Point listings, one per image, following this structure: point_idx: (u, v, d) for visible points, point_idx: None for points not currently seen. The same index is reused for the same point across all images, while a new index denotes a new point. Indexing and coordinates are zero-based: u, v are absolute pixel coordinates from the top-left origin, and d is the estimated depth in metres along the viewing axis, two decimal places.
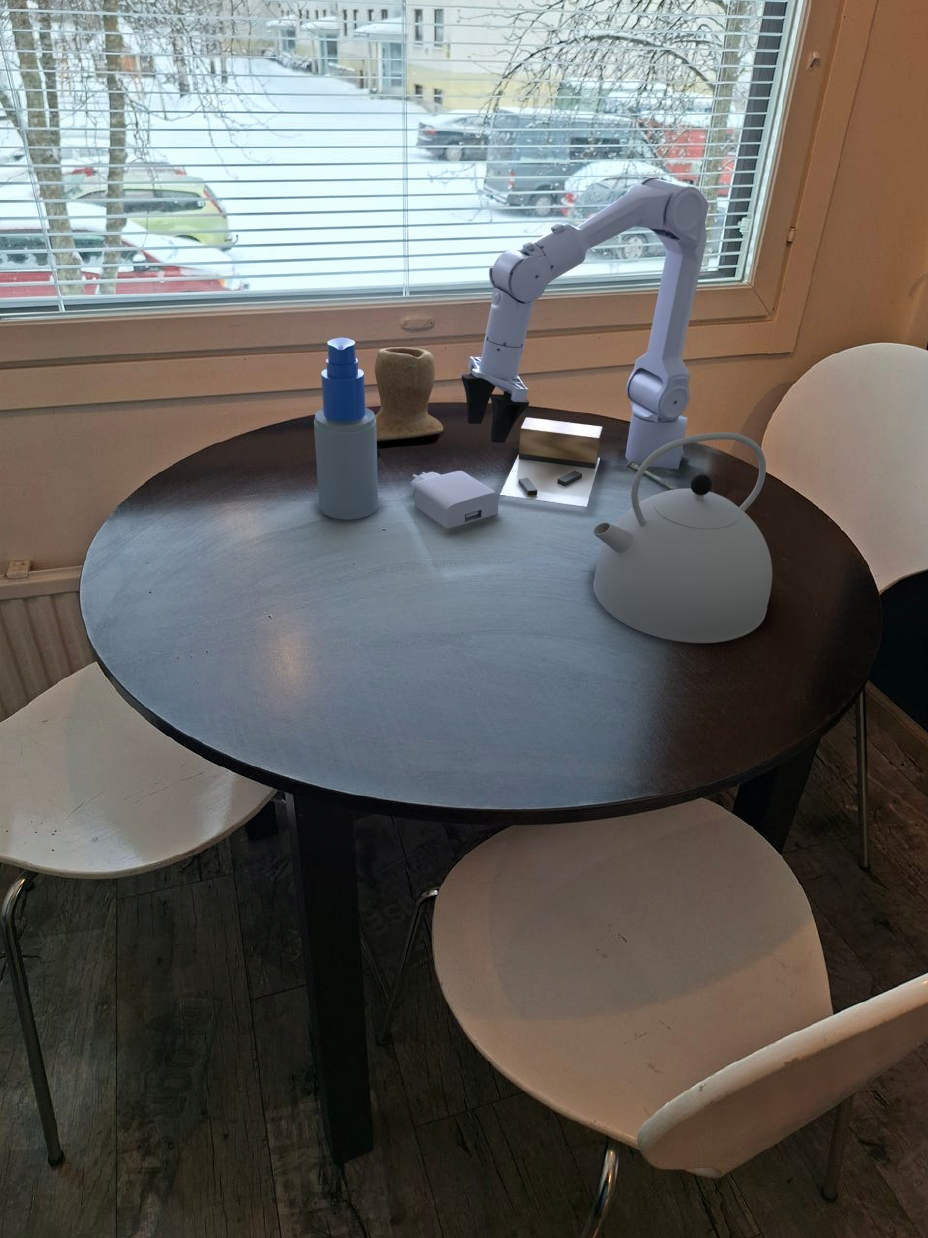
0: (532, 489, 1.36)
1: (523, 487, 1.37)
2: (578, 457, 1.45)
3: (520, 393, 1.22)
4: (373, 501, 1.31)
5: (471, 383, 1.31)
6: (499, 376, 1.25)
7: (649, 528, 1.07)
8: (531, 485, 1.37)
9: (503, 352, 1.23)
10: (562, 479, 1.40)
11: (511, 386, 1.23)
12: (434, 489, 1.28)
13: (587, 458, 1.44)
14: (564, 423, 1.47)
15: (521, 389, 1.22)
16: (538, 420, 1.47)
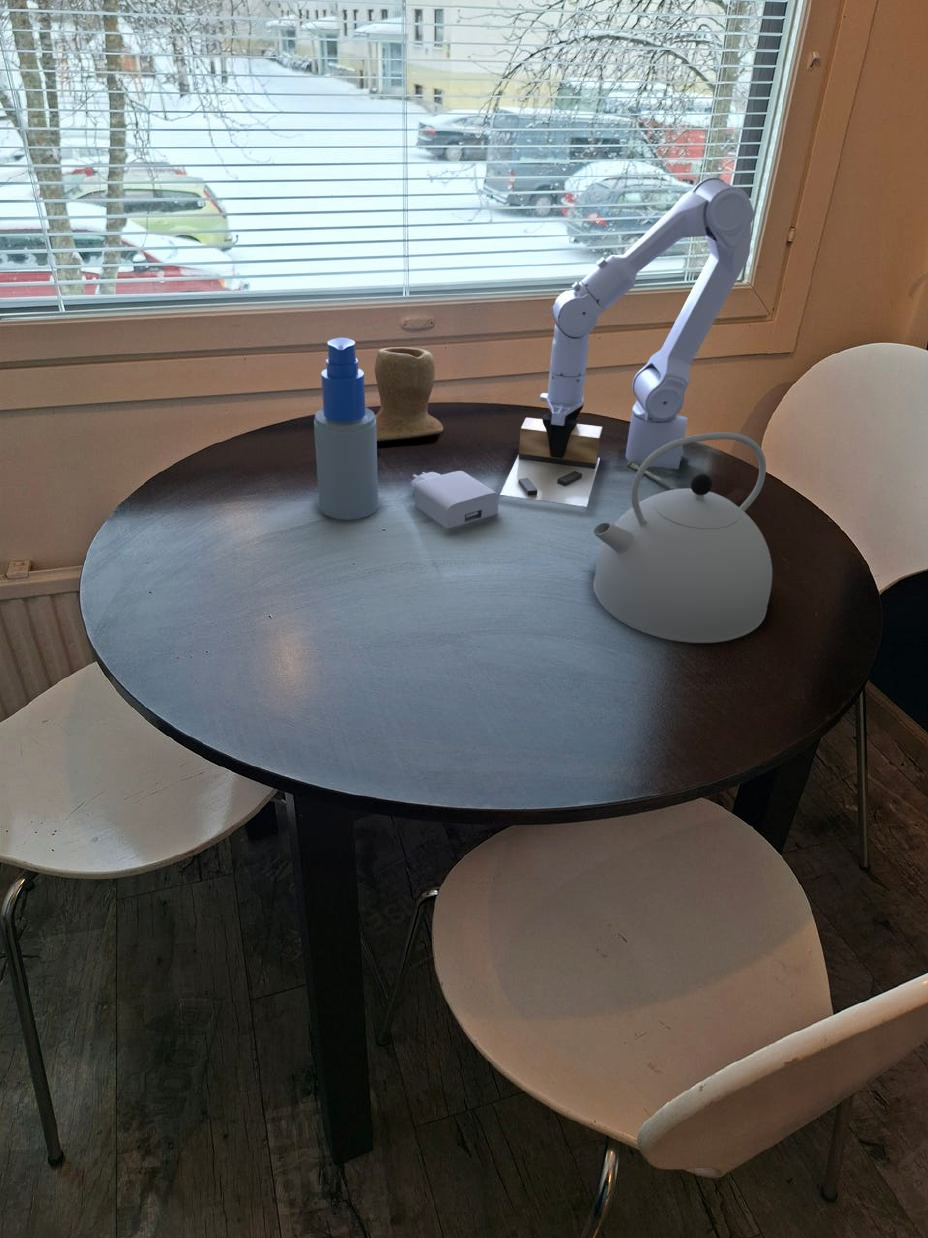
0: (532, 489, 1.36)
1: (523, 487, 1.37)
2: (578, 457, 1.45)
3: (556, 417, 1.37)
4: (373, 501, 1.31)
5: None
6: (555, 401, 1.40)
7: (649, 527, 1.07)
8: (531, 485, 1.37)
9: (556, 380, 1.38)
10: (562, 479, 1.40)
11: (552, 410, 1.38)
12: (434, 489, 1.28)
13: (587, 458, 1.44)
14: None
15: (557, 414, 1.36)
16: (538, 420, 1.47)
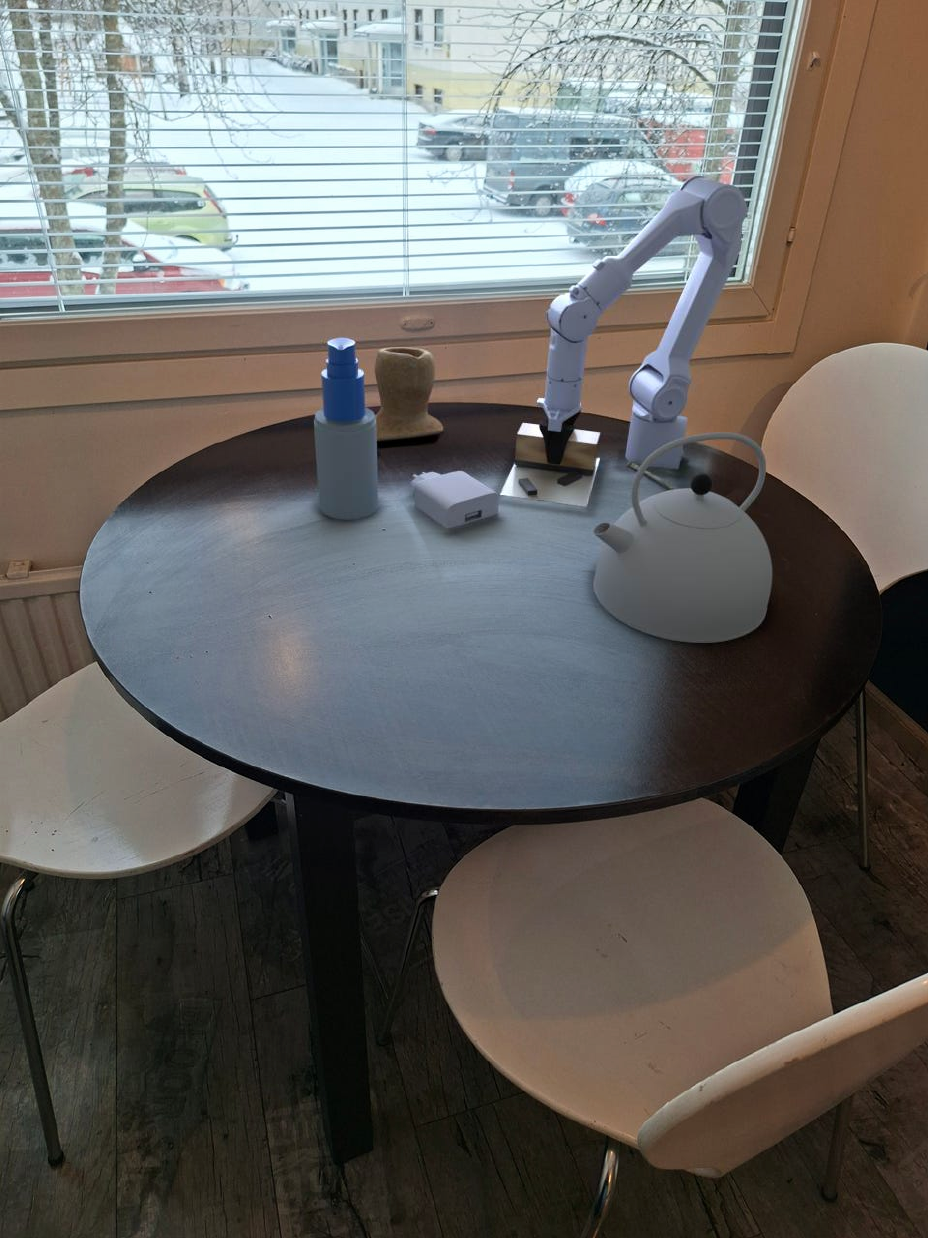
0: (532, 489, 1.36)
1: (523, 487, 1.37)
2: (575, 463, 1.42)
3: (553, 423, 1.34)
4: (373, 501, 1.31)
5: None
6: (552, 406, 1.37)
7: (649, 527, 1.07)
8: (531, 485, 1.37)
9: (553, 385, 1.35)
10: (562, 479, 1.40)
11: (549, 416, 1.35)
12: (434, 489, 1.28)
13: (585, 465, 1.41)
14: None
15: (554, 420, 1.34)
16: (535, 426, 1.44)
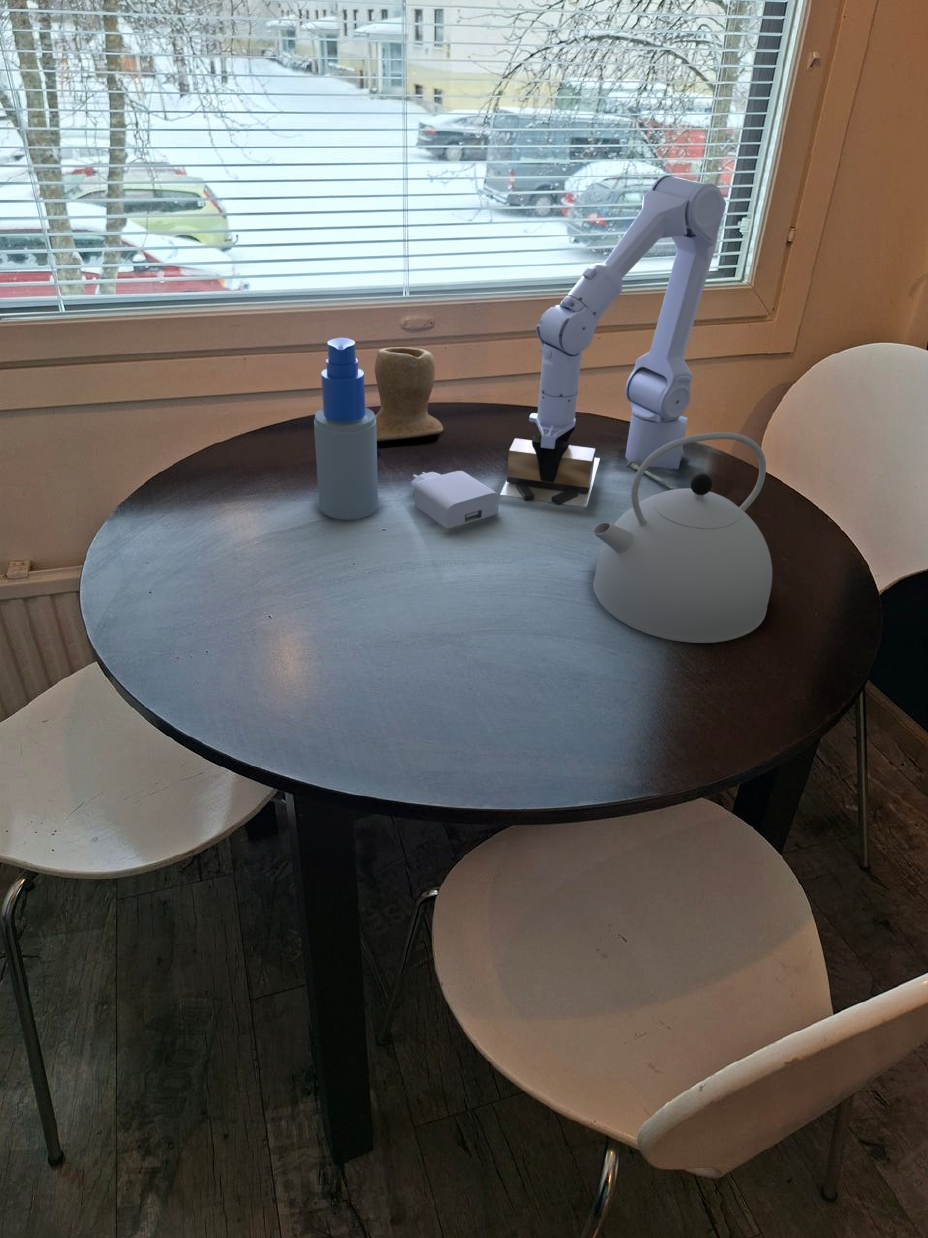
0: (529, 494, 1.35)
1: (520, 492, 1.36)
2: (570, 481, 1.36)
3: (546, 440, 1.28)
4: (373, 501, 1.31)
5: None
6: (545, 422, 1.32)
7: (649, 527, 1.07)
8: (528, 490, 1.36)
9: (546, 400, 1.30)
10: (556, 497, 1.34)
11: (542, 433, 1.29)
12: (434, 489, 1.28)
13: (579, 482, 1.36)
14: None
15: (547, 436, 1.28)
16: (528, 441, 1.39)
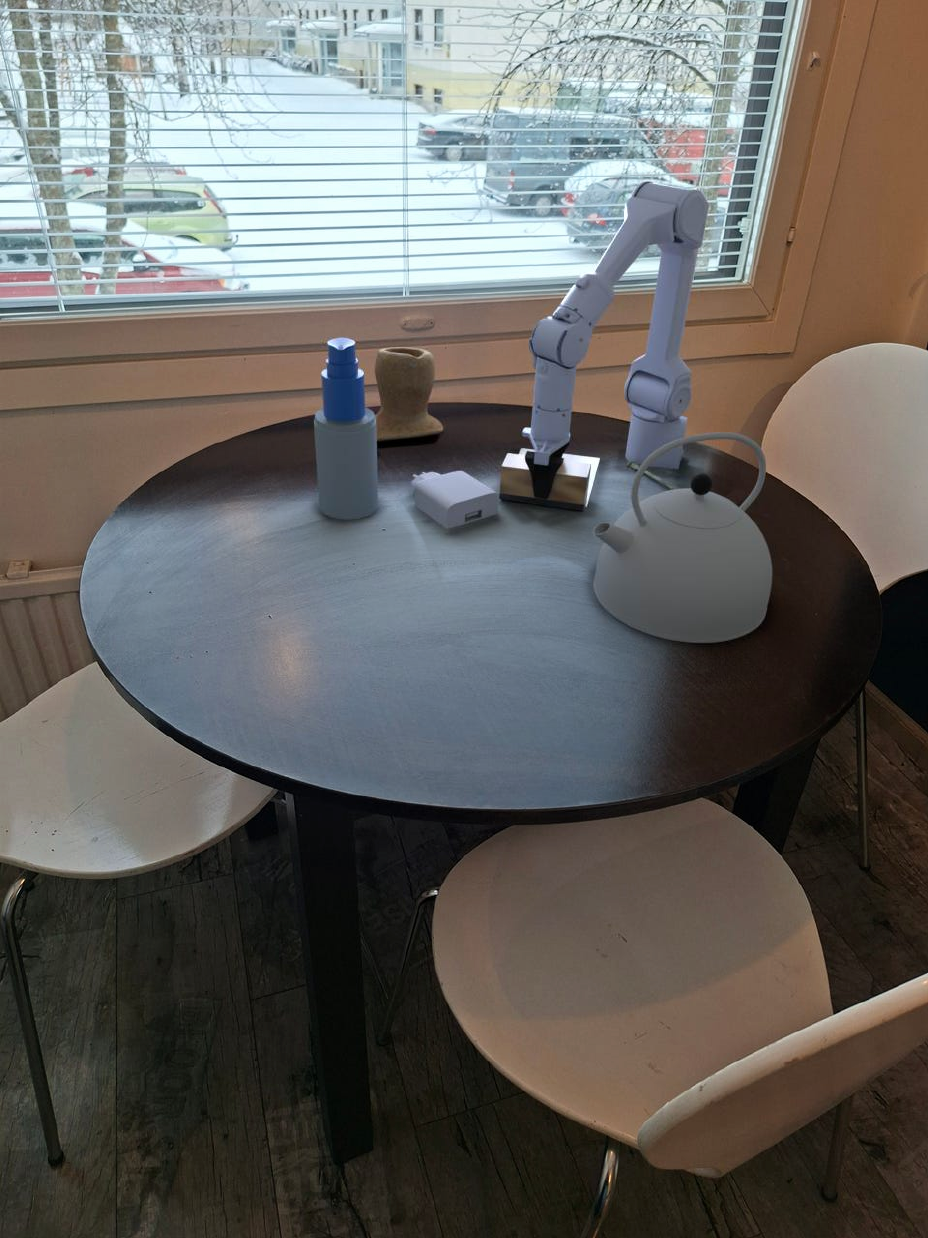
0: None
1: None
2: (564, 498, 1.31)
3: (539, 456, 1.24)
4: (373, 501, 1.31)
5: None
6: (538, 437, 1.27)
7: (649, 527, 1.07)
8: None
9: (540, 415, 1.25)
10: None
11: (535, 448, 1.25)
12: (434, 489, 1.28)
13: (574, 499, 1.31)
14: None
15: (540, 452, 1.23)
16: (521, 456, 1.34)
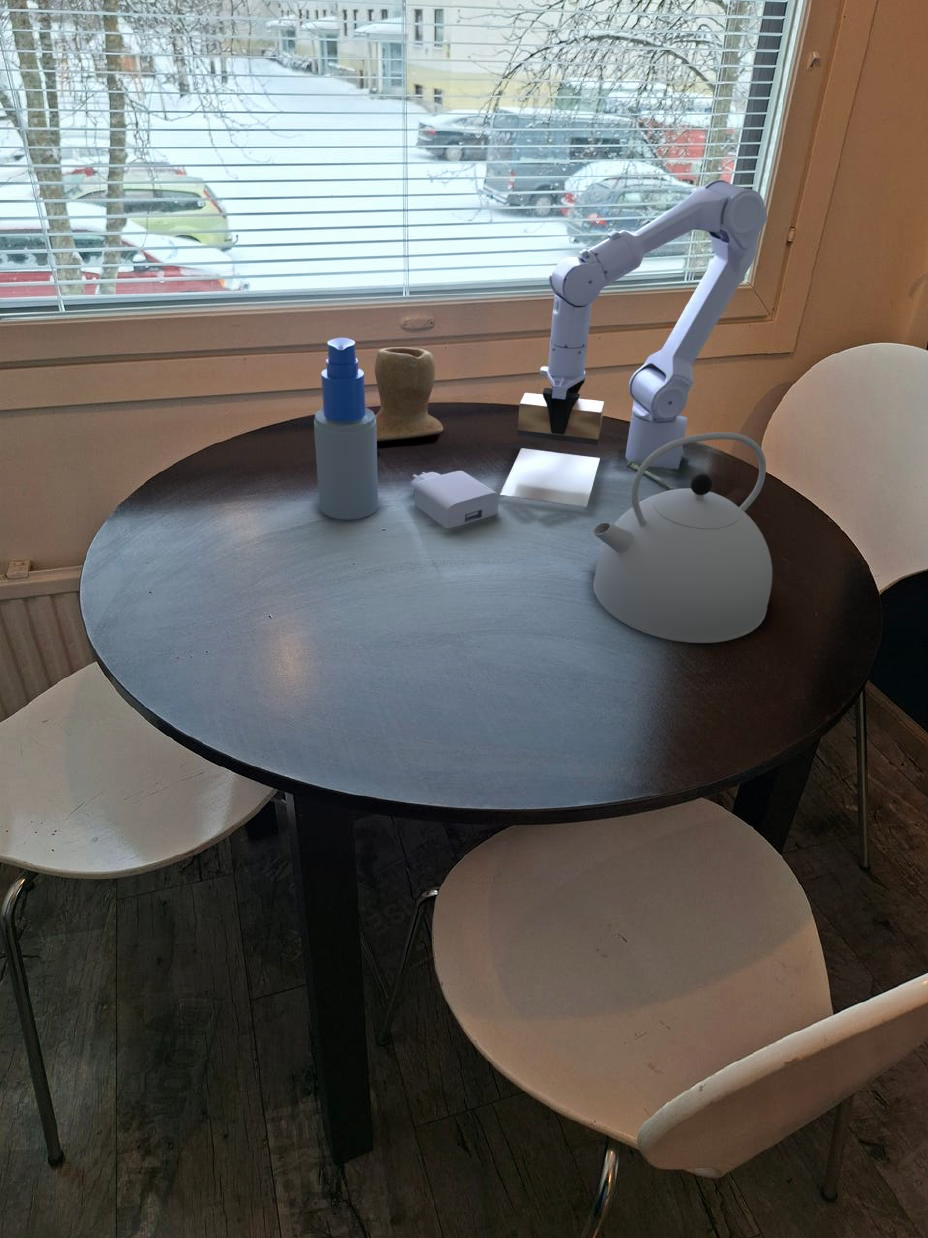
0: None
1: None
2: (579, 433, 1.39)
3: (557, 390, 1.31)
4: (373, 501, 1.31)
5: None
6: (555, 374, 1.35)
7: (649, 527, 1.07)
8: None
9: (557, 352, 1.33)
10: None
11: (553, 383, 1.32)
12: (434, 489, 1.28)
13: (589, 434, 1.39)
14: None
15: (558, 387, 1.31)
16: (537, 395, 1.41)
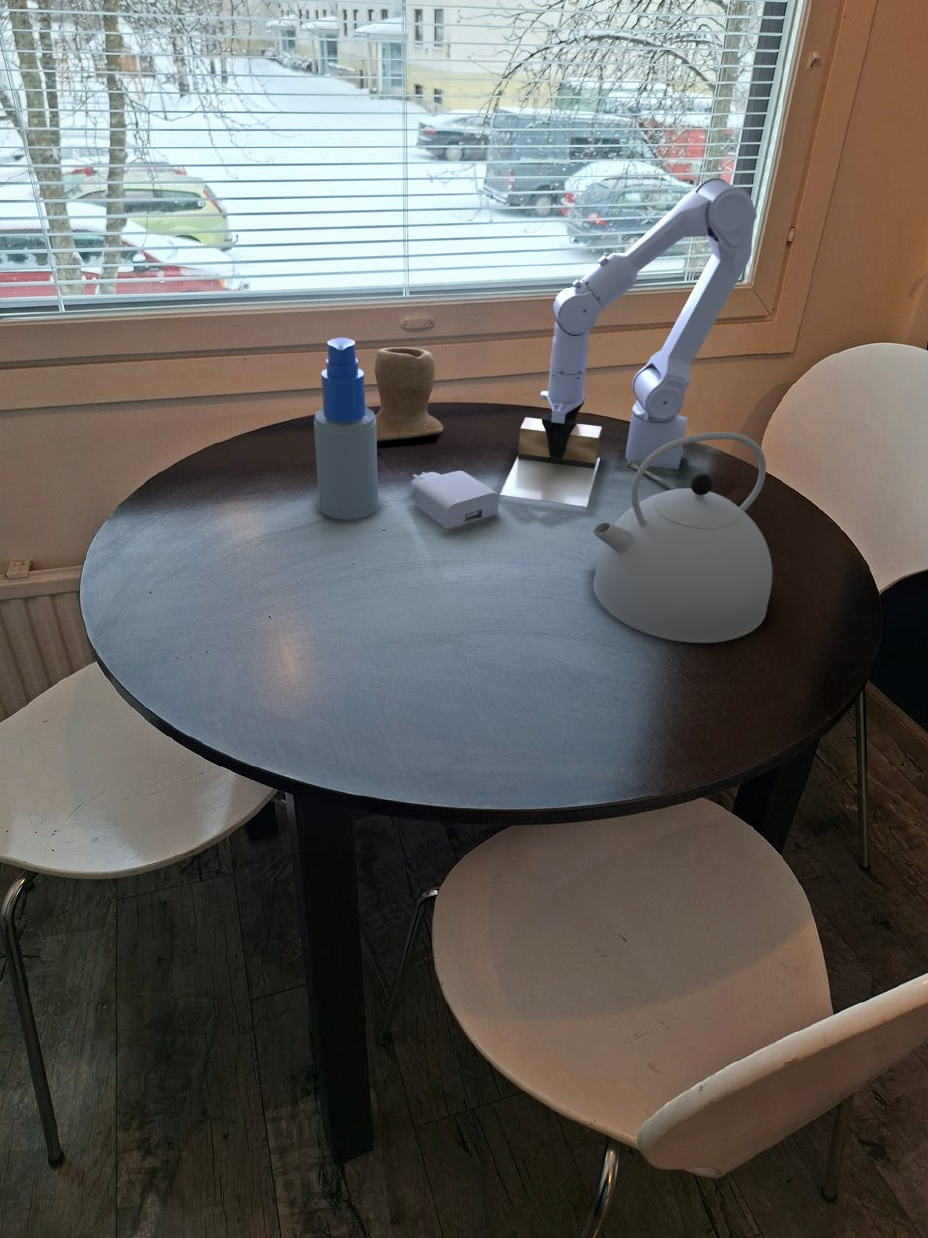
0: None
1: None
2: (577, 457, 1.45)
3: (556, 415, 1.37)
4: (373, 501, 1.31)
5: None
6: (555, 399, 1.40)
7: (649, 527, 1.07)
8: None
9: (556, 378, 1.38)
10: None
11: (552, 408, 1.37)
12: (434, 489, 1.28)
13: (586, 458, 1.44)
14: None
15: (557, 411, 1.36)
16: (537, 420, 1.47)
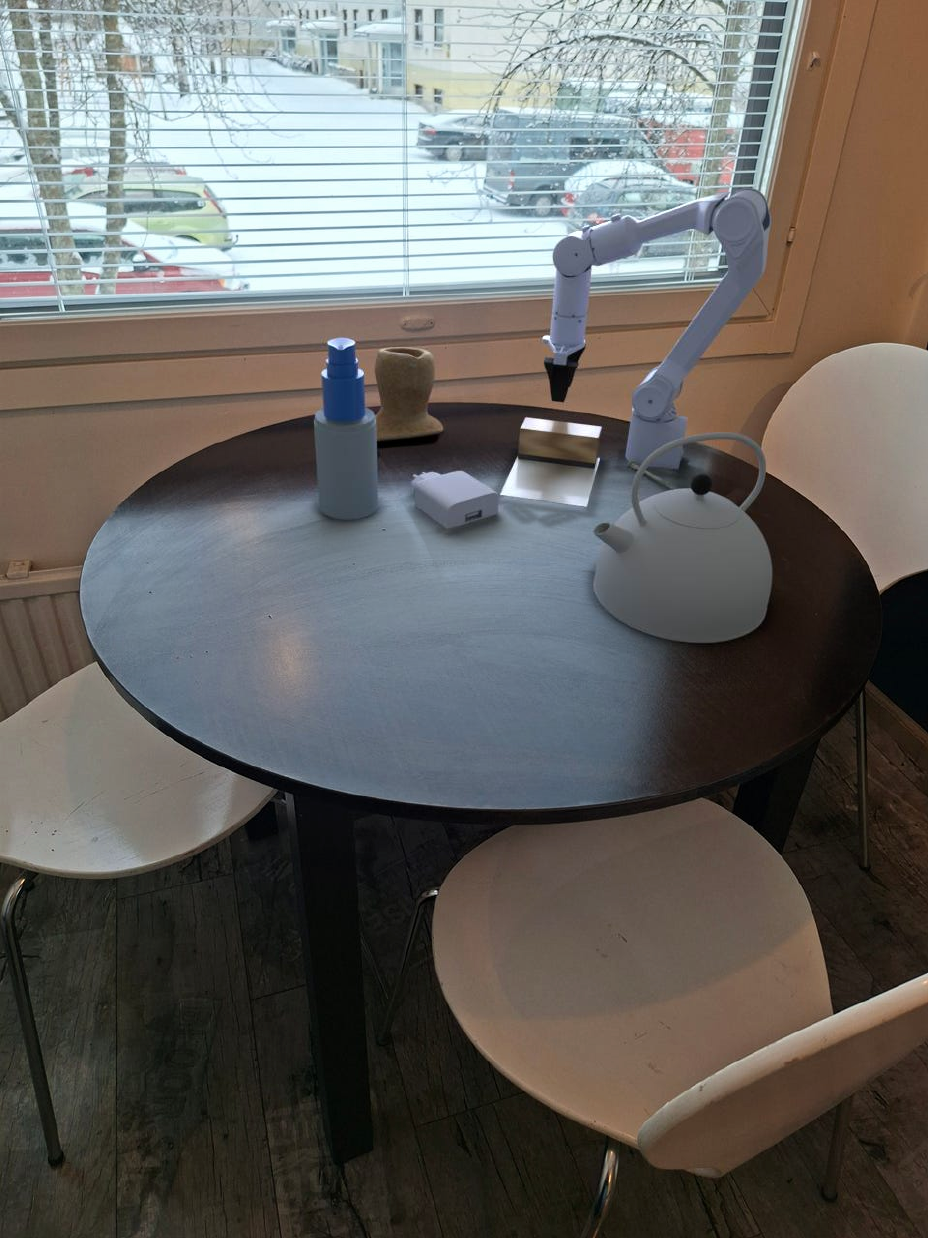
0: None
1: None
2: (577, 457, 1.45)
3: (558, 357, 1.39)
4: (373, 501, 1.31)
5: None
6: (557, 342, 1.43)
7: (649, 527, 1.07)
8: None
9: (558, 321, 1.41)
10: None
11: (554, 350, 1.40)
12: (434, 489, 1.28)
13: (586, 458, 1.44)
14: (564, 423, 1.47)
15: (559, 353, 1.39)
16: (537, 420, 1.47)
